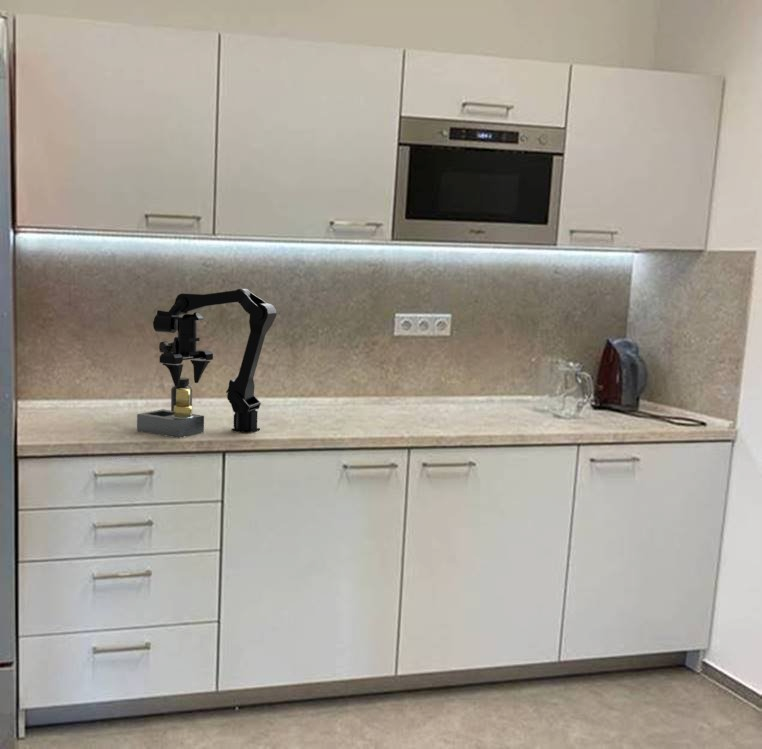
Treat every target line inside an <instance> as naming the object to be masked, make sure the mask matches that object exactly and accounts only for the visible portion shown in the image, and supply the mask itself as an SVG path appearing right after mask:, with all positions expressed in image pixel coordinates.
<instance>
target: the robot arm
mask: <svg viewBox="0 0 762 749" xmlns="http://www.w3.org/2000/svg"><path fill="white" fill-rule="evenodd" d="M234 303H238V304H240V306H241V308H242V309H243V310H244V311H245V312H246V313H247V314H249V317H248V318H249V319H248V322H249V336H248V339H247V343H246V346H245V350H244V352H243V353H244V354H243V356H242V360H241V365H240V367H239V372H238V375H237V377H236V378H232V379H229V383H228V388H227V389H226V392H225V393H226V396H227V397H226V398H227V401H228V402H229V403H230V405H231V408H232V411H233V413H234V414H233V427H232V428H231V429H230V431H232V430H233V431H234V432H239V431H240V433H245V432H246V434H250V433H253V432H257V430H258V431H260V430H261V428H260V427H258V414H259V412H258V410H259V409H260V407H261V404H262V402H260V400H259V399H258V398H257V397H256V395H255V388H256V386H255V382H254V378H255V374H256V370H257V366H258V362H259V359H260V355H261V351H262V349H263V344H264V342H265V337H266V334H268V332H269V330H270V329H271V327H272V326H273V323H274V321H275V320H276V318H277V310H276V308H275V306H274V305H273V304H272V303H267V302H266V301H265V300H264V299H262V298H260V297H259V296H257V295H255V294H254V293H253V292H252V291H250V290H249V289H248V288H238V289H235V290H227V291H220V292H214V293H213V292H212V293H199V292H198V293H196V292H194V293H193V292H189V293H179V294H178V295H177V296H176V298H175V300H174V303H173V305H172V306H171V308H170V309H169V311H168V310H162V309H158V310H156V315H155V316H154V319H153V321H152V327H153V329H154V331H155V332H157V333H168V334H175V333H176V332H177V336H175V337H174V338H173V342H168V341H165V340H164V341H160V342H159V346H158V349H159V352H160V353H161V354H160V355H159V359H158V361H159V364H162V365H163V366H165V367H166V368H167V369H168V371H169V373H170V376H171V379H172V381H173V384H174V386H178V385H179V382H180V378H182V377H181V376H182V373H183V367H184V364H182V363H183V361H187V360H189V361H190V362H191V364H192V368H193V382H194V384H199V382H200V379H201V377H202V375H203V373H204V372H205V370H206V368H207V367H208V364H209V363H211V361H212V360H214V353H213V351H211V350H209V349H197V343H198V342H200V337H197V334H198V331H197V330H198V328H197V327H198V326H197V325H198V321H202V320H204V319H205V318H204V317H203V316H202V315H201V314H200V313H199V310H202V309H205V308H207V307H212V306H219V305H225V304H234ZM197 311H198V312H197ZM191 312H193V313H191ZM180 315H182V316H180Z"/></svg>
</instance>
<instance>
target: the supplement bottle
mask: <svg viewBox="0 0 762 749" xmlns="http://www.w3.org/2000/svg"><path fill="white" fill-rule="evenodd" d="M178 388H188V389H190V405H191V406H192V407H193V389H192V387H191V386H190V378H188V377H180V382H179V385H178V386H175V385H174V386H172V387H171V388H170V411H174V405H176V389H178Z"/></svg>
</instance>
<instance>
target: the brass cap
mask: <svg viewBox="0 0 762 749" xmlns="http://www.w3.org/2000/svg"><path fill="white" fill-rule="evenodd" d="M192 414H193V405H192V406H191V405H190V389H188V388H178V389H176V405H174V417H178V418H188V417H192Z"/></svg>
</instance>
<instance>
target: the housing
mask: <svg viewBox="0 0 762 749" xmlns="http://www.w3.org/2000/svg"><path fill="white" fill-rule="evenodd" d="M136 415H137V416H136V431H137V430H138V431H137V432H141V431H143V432H142V433H147V432H148V434H153V433H154V434H155V435H158V434H160V435H159V436H164V435H167V436H166V437H170V436H173V437H172V438H176V437H178V438H177V439H180V437H181V438H185V437H184V436H186V437H189V435H190V436H194V435H198V434H202V433H201V432H203V433H204V430H205V416H204V415H203V414H202V415H201V414H196V413H192V417H188V418H178V417H174V411H171V409H170V410H169V409H163V408H162V409H159V410H158V409H157V410H153V411H152V410H151V411H147V412H142V413H137V414H136ZM197 433H198V434H197Z"/></svg>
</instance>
